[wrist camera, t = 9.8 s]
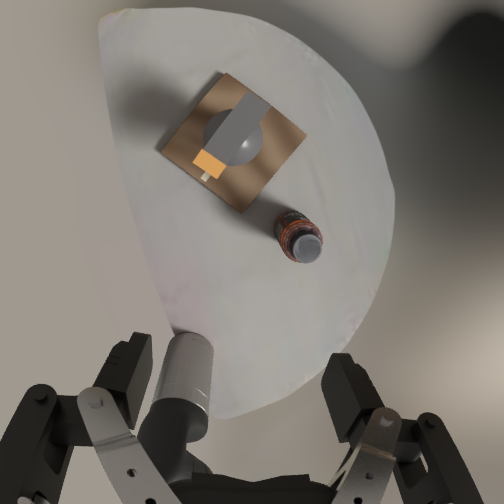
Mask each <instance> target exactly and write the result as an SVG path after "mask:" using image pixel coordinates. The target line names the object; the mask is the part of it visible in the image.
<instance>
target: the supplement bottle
mask: <svg viewBox="0 0 504 504" xmlns="http://www.w3.org/2000/svg"><path fill="white" fill-rule="evenodd" d="M274 233H275V236H276V238H277V240H278V242H279V244H280V246H281V248H282V250H283V252H284V253H285V255H286V256H287V257H288V258H289V259H291V260H292V261H295V262H299V263H311V262H313V261H315V260H316V259H317V258H318V257H319V256H320V254H321V252H322V244H323V238H322V234H321V232H320V230H319V229H318V228H317V227H316V226H315V225H314V224H313V223H312V222H311V221H310V220H309V219H308V218H306V217H305V216H304V215H303V214H302V213H299V212H297V211H287V212H285V213H283V214H281V215H280V216H279V217H278V218H277V220H276V222H275V225H274Z"/></svg>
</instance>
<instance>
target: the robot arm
mask: <svg viewBox="0 0 504 504" xmlns="http://www.w3.org/2000/svg"><path fill="white" fill-rule="evenodd" d="M213 354H214V353H213V347H212V345H211V344H210V342H209V341H208V340H207V339H205V338H204V337H202V336H200V335H198V334H195V333H181V334H178V335H176V336H175V337H173V338H172V339H171V341H170V343H169V345H168V349H167V352H166V355H165V358H164V361H163V365H162V368H161V372H160V375H159V379H158V382H157V386H156V390H155V393H154V397H153V400H152V404H151V407H150V411H149V413H148V414H147V416H146V417H145V419H144V421H143V422H142V424H141V426H140V429H139V432H138V435H137V438H136V436H135V435H134V436H133V435H132V433H131V432H130V430H129V429H132V430H134V428H135V425H136V421H137V418H138V414H139V411H140V408H141V405H142V401H143V398H144V395H145V392H146V388H147V385H148V382H149V379H150V376H151V372H152V365H153V360H152V339H151V335H149V334H144V333H138V332H134V333H133V334H132V336H131V338H130V340H129V342H125V341H121V342H119V343H118V344H116V345H115V346H114V347H113V348H112V350H111V352H110V354H109V356H108V357H107V360H106V362H105V363H104V365H103V367H102V369H101V371H100V373H99V375H98V377H97V379H96V381H95V383H94V384H93V386H92V387H89V388H86V389H84V390H83V391H82V392H80V394H79V395H78V396H64V395H57V393H56V391H55V390H54V389H53V388H52V387H51V386H49V385H46V384H37V385H34V386H32V387H30V388H29V389H28V390H27V392H26V393H25V395H24V397H23V399H22V400H21V402H20V404H19V406H18V408H17V410H16V411H15V413H14V415H13V417H12V419H11V421H10V423H9V425H8V427H7V429H6V431H5V433H4V435H3V437H2V439H1V441H0V504H58V502H59V498H60V494H61V490H62V486H63V482H64V479H65V475H66V471H67V468H68V465H69V461H70V458H71V455H72V452H73V449H74V446H94V448H95V450H96V453H97V455H98V457H99V459H100V461H101V464H102V466H103V468H104V470H105V472H106V474H107V476H108V478H109V480H110V481H111V483H112V485H113V487H114V489H115V491H116V492H117V494H118V496H119V498H120V499H121V501H122V503H123V504H380V502H381V500H382V497H383V495H384V492H385V490H386V487H387V484H388V482H389V479H390V476H391V473H392V470H393V473H394V476H395V479H396V482H397V485H398V488H399V491H400V494H401V497H402V500H403V503H404V504H484V503H483V501H482V499H481V496H480V494H479V492H478V490H477V488H476V485H475V483H474V481H473V479H472V477H471V475H470V473H469V471H468V469H467V467H466V465H465V463H464V461H463V459H462V457H461V455H460V453H459V451H458V449H457V447H456V445H455V444H454V442H453V440H452V438H451V436H450V434H449V432H448V431H447V429H446V427H445V425H444V423H443V422H442V420H441V419H440V418H439V417H438V416H437V415H435V414H433V413H429V412H427V413H423V414H421V415H420V416H419V417H418V419H417V420H408V419H401V417H400V415H399V414H398V413H397V412H396V411H395V410H393V409H391V408H387V407H385V406H384V404H383V402H382V400H381V398H380V396H379V395H378V393H377V391H376V389H375V387H374V386H373V383H372V381H371V380H370V378H369V376H368V374H367V372H366V370H365V369H363V368H362V367H361V366H360V365H359V364H355V363H354V361H353V359H352V357H351V355H350V354H348V353H333V354H332V355H331V357H330V359H329V362H328V364H327V367H326V369H325V372H324V374H323V377H322V381H321V387H322V392H323V394H324V398H325V400H326V403H327V406H328V409H329V412H330V415H331V418H332V421H333V424H334V427H335V430H336V433H337V437H338V440H339V443H344V442H349V443H350V447H349V448H348V450H347V452H346V454H345V455H344V457H343V459H342V461H341V463H340V465H339V467H338V469H337V470H336V472H335V474H334V476H333V477H332V479H331V480H330V482H329V483H328V485H324V484H321V483H318V482H313V481H310V478H309V474H304V475H289V476H279V477H275V478H270V479H266V480H262V481H257V482H249V481H244V480H240V479H236V478H232V477H228V476H225V475H219V474H213V473H212V471H211V470H210V469H209V467H208V466H207V465H206V464H204V463H203V462H202V461H200V460H199V459H197V458H196V457H195V456H194V455H192V454H191V453H189V452H188V451H187V450H186V444H187V443H191V442H195V441H198V440H200V439H201V438H203V437H204V436H205V434H206V432H207V429H208V415H209V401H210V389H211V377H212V366H213ZM422 454H423V456H424V458H425V461H426V463H427V465H428V473H427V472H426V470H425V467H424V465H423V463H422V460H421V458H420V456H421V455H422Z"/></svg>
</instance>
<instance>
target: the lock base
mask: <svg viewBox="0 0 504 504" xmlns="http://www.w3.org/2000/svg"><path fill="white" fill-rule="evenodd" d="M248 90H249V91H250V92H252V93H253V94H255V95H256V96H258V95H257V94H256V93H254V92H253V91H251V90H250V89H249V88H247V87H246V86H245V85H243V84H242V83H240V82H239V81H238V80H236V79H235V78H233V77H232V76H231V75H229V74H228V73H225V74H224V75H223V76H222V77H221V79H220V80H219V81H218V82H217V83H216V84H215V85H214V86H213V88H212V89H211V90H210V91H209V92H208V93H207V94H206V96H205V97H204V98H203V99H202V100H201V101H200V103H199V104H198V105H197V106H196V107H195V109H194V110H193V111H192V112H191V114H190V115H189V116H188V117H187V119H186V120H185V121H184V122H183V124H182V125H181V126H180V127H179V129H178V130H177V131H176V133H175V134H174V135H173V137H172V138H171V139H170V141H169V142H168V143H167V145H166V146H165V147H164V149H163V150H162V152H161V153H162V154H163V155H165V156H166V157H168V158H169V159H170V160H172V161H173V162H174V163H176V164H177V165H178V166H180V167H181V168H182V169H184V170H185V171H186V172H188V173H189V174H190V175H192V176H193V177H194V178H196V179H197V180H198V181H200V182H201V183H202V184H204V185H205V186H206V187H208V188H209V189H210V190H212V191H213V192H214V193H216V194H217V195H218V196H220V197H221V198H222V199H223V200H225V201H226V202H227V203H229V204H230V205H231V206H233V207H234V208H235V209H237V210H238V211H239V212H240V213H243V212H244V211H245V209H246V208H247V207H248V206H249V205H250V203H251V202H252V201H253V200H254V198H255V197H256V196H257V195H258V194H259V192H260V191H261V190H262V189H263V187H264V186H265V185H266V184H267V183H268V181H269V180H270V179H271V178H272V177H273V175H274V174H275V173H276V172H277V171H278V169H279V168H280V167H281V166H282V165H283V164H284V162H285V161H286V160H287V159H288V158H289V156H290V155H291V154H292V153H293V152H294V151H295V149H296V148H297V147H298V146H299V145H300V144H301V142H302V141H303V140H304V139H305V138H306V137H307V135H306V134H305V133H304V132H303V131H302V130H301V129H299V128H298V127H297V126H296V125H295V124H294V123H292V122H291V121H290V120H289V119H287V118H286V117H285V116H284V115H283V114H281V113H280V112H279V111H278V110H276V109H275V108H274V107H273V106H272V107H271V108H270V109H269V111H268V112H267V113H266V115H265V116H264V117H263V118H262V120H261V121H260V122H259V124H260V126H261V128H262V132H263V142H262V146H261V149H260V151H259V152H258V154H257V155H256V156H255V157H254V158H253V159H252V160H251V161H249V162H247V163H245V164H243V165H239V166H226V167H225V169H224V170H223V171H222V173H221V174H220V176H219V177H218V178H217V179H216V178H214V177H213V176H212V175H210V174H209V173H207V172H206V171H204V170H203V169H201V168H200V167H198V166H197V165H195V164H194V163H192V162H193V161H194V159H195V158H196V157H197V155H198V154H199V152H200V151H201V150H202V149H204V147H205V146H204V142H203V134H204V130H205V127H206V125H207V123H208V122H209V120H210V119H211V118H212V117H213V116H214V115H216V114H217V113H219V112H221V111H223V110H227V109H234V107H235V106H236V105H237V104H238V102H239V101H240V100H241V99H242V97H243V96H244V95H245V94H246V92H247V91H248ZM258 97H259V98H261V97H260V96H258ZM261 99H262V98H261ZM262 100H263V99H262ZM263 101H265V100H263ZM265 102H266V101H265ZM266 103H267V102H266ZM268 104H269V103H268ZM269 105H270V104H269Z"/></svg>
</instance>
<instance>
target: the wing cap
mask: <svg viewBox="0 0 504 504" xmlns="http://www.w3.org/2000/svg"><path fill="white" fill-rule="evenodd" d="M271 107H272V106H271V105H269V104H268V103H266V102H265V101H263V100H262V99H261V98H259V97H258V96H256V95H255V94H253V93H252V92H250V91H249V90H248V91H247V92H246V94H245V95H244V96H243V97H242V99H241V100H240V101H239V102H238V104H237V105H236V106H235V107H234V109H227V110H223V111H221V112H219V113H217V114H216V115H214V116H213V117H212V118H211V119H210V120H209V122H208V123H207V125H206V127H205V130H204V134H203V142H204V146H205V147H204V149H202V150H201V151H200V152H199V154H198V155H197V157H196V158H195V159H194V161H193V162H192V163H194V164H195V165H197V166H198V167H200V168H201V169H203V170H204V171H206V172H207V173H209V174H210V175H212V176H213V177H214V178H216V179H217V178H218V177H219V176H220V174H221V173H222V171H223V170H224V169H225V167H226V166H239V165H243V164H245V163H247V162H249V161H251V160H252V159H253V158H254V157H255V156H256V155H257V154H258V152H259V151H260V149H261V146H262V142H263V132H262V128H261V126H260V124H259V122H260V121H261V120H262V118H263V117H264V116H265V115H266V113H267V112H268V111H269V109H270V108H271Z"/></svg>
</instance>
